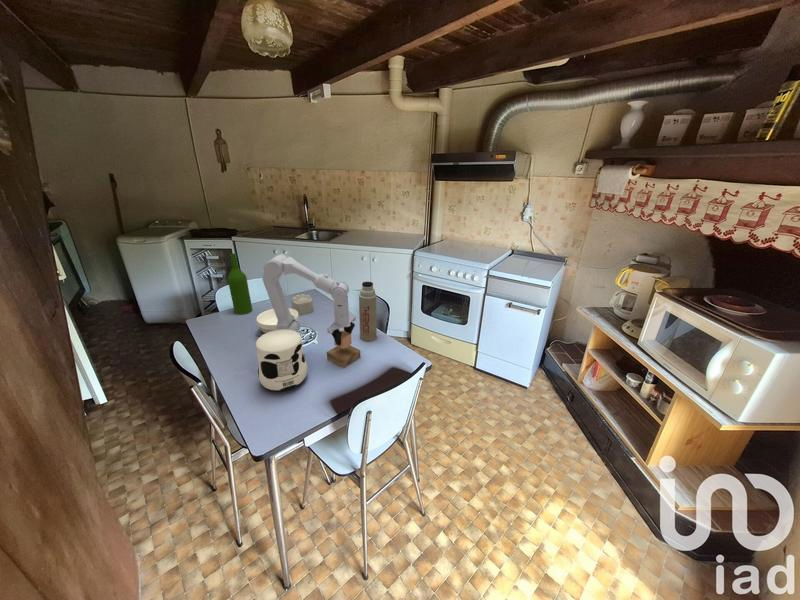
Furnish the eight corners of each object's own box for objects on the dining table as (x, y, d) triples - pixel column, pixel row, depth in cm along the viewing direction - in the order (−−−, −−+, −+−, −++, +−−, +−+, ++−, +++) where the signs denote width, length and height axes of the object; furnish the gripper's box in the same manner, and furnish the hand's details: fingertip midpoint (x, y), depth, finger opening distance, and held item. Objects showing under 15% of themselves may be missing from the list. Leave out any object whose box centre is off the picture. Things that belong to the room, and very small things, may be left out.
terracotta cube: (343, 349, 126) (342, 338, 124) (334, 345, 129) (333, 334, 127) (351, 343, 130) (351, 333, 128) (343, 340, 133) (342, 330, 131)
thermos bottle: (370, 343, 144) (370, 287, 133) (356, 338, 148) (355, 284, 136) (379, 335, 151) (379, 282, 140) (365, 331, 154) (365, 278, 143)
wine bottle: (255, 310, 172) (245, 253, 159) (240, 316, 165) (229, 257, 152) (246, 306, 176) (235, 251, 163) (231, 312, 169) (219, 254, 156)
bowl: (305, 324, 159) (304, 308, 156) (290, 343, 142) (288, 326, 139) (271, 321, 161) (268, 306, 158) (251, 340, 144) (248, 323, 140)
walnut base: (343, 368, 126) (343, 360, 125) (327, 359, 132) (326, 351, 130) (360, 358, 134) (360, 350, 132) (344, 350, 139) (344, 342, 137)
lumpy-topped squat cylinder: (296, 316, 167) (294, 302, 164) (290, 307, 177) (288, 293, 174) (315, 312, 172) (313, 298, 169) (308, 304, 182) (306, 290, 179)
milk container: (282, 362, 128) (276, 324, 121) (317, 372, 123) (313, 333, 116) (249, 387, 113) (241, 345, 106) (287, 400, 108) (281, 357, 101)
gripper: (335, 322, 116) (337, 352, 121) (360, 309, 127) (361, 337, 133) (322, 316, 120) (324, 346, 125) (348, 304, 131) (349, 332, 136)
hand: (343, 341), depth 129 cm, fingers closed on terracotta cube, 5 cm apart
